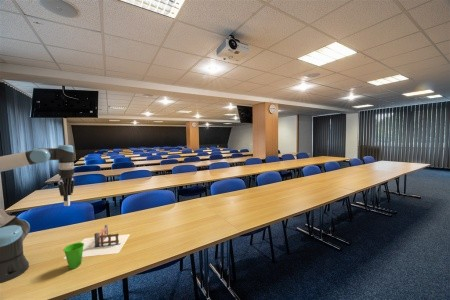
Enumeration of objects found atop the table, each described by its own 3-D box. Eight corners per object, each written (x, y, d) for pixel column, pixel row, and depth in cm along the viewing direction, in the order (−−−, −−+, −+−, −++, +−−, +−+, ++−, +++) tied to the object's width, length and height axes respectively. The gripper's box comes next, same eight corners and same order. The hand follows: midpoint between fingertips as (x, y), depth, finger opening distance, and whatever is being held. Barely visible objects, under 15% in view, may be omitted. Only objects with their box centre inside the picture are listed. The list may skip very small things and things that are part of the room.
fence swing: (97, 244, 128) (96, 232, 127) (105, 235, 140) (105, 224, 139) (100, 244, 128) (99, 232, 127) (108, 235, 140) (108, 224, 139)
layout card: (118, 253, 118) (118, 252, 118) (62, 259, 112) (62, 258, 112) (130, 233, 142) (130, 233, 142) (85, 238, 137) (85, 237, 137)
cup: (89, 260, 111) (88, 242, 111) (77, 271, 102) (76, 251, 102) (73, 261, 111) (72, 242, 110) (60, 271, 102) (58, 251, 101)
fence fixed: (118, 245, 127) (117, 232, 126) (94, 247, 124) (93, 234, 124) (119, 243, 129) (119, 230, 129) (96, 245, 127) (95, 232, 126)
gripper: (64, 170, 117) (65, 208, 118) (79, 167, 130) (80, 202, 131) (51, 170, 117) (52, 209, 118) (67, 167, 130) (68, 202, 131)
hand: (67, 205), depth 124 cm, fingers closed
